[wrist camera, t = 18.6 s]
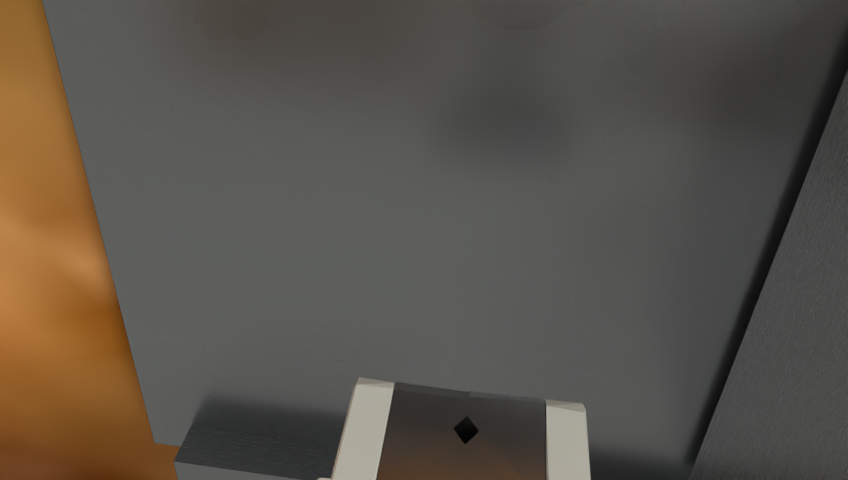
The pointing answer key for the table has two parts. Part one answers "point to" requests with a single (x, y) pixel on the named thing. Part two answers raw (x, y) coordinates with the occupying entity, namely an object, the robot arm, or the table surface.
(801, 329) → the sliding jaw
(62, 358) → the table surface
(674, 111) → the vise base
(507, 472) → the robot arm
